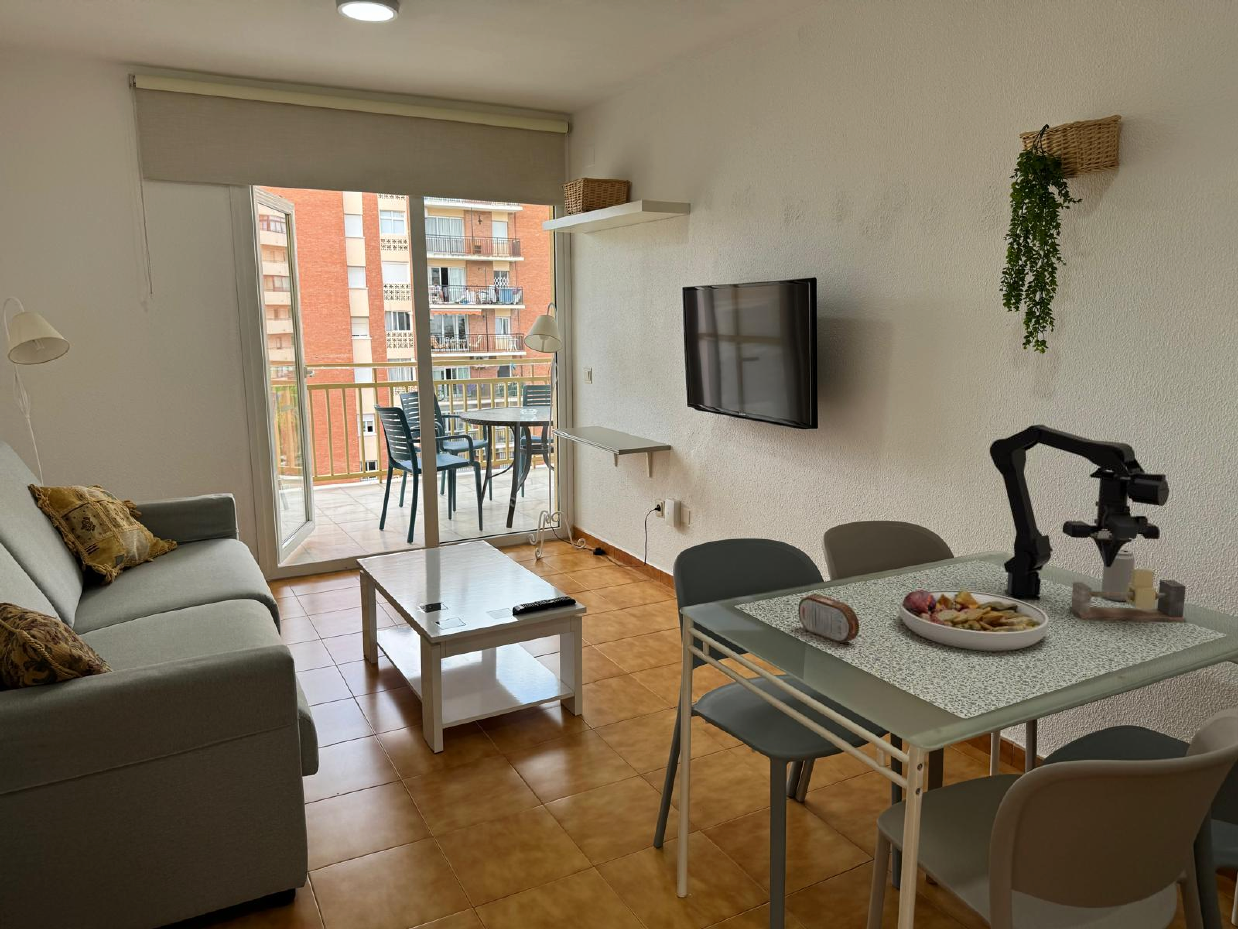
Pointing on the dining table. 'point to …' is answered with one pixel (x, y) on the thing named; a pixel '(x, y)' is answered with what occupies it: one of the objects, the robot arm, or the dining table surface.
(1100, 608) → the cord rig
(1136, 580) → the marker sleeve
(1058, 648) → the dining table surface
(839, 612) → the tin
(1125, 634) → the dining table surface
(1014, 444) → the robot arm
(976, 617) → the bowl
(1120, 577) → the beverage can
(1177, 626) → the dining table surface
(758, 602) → the dining table surface
